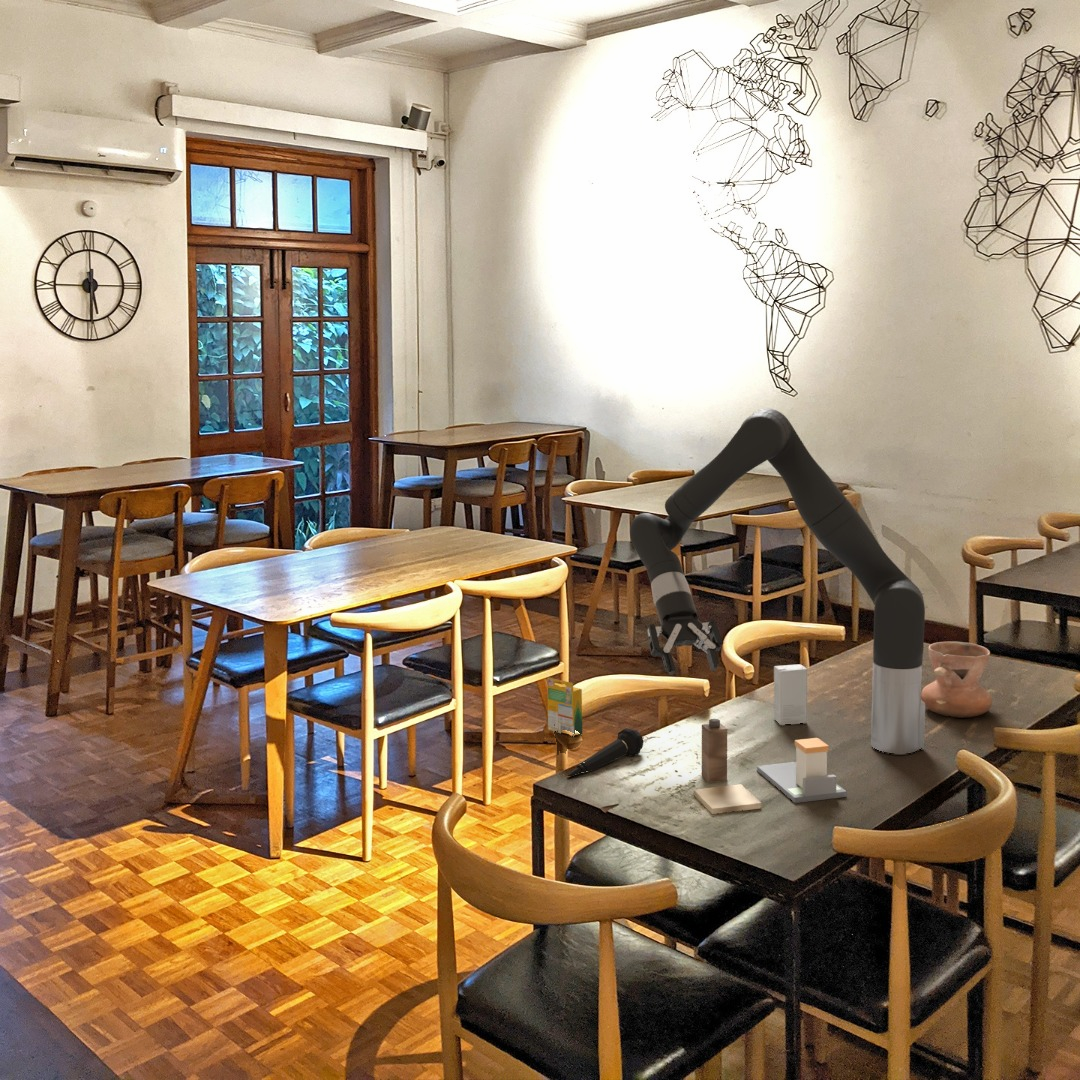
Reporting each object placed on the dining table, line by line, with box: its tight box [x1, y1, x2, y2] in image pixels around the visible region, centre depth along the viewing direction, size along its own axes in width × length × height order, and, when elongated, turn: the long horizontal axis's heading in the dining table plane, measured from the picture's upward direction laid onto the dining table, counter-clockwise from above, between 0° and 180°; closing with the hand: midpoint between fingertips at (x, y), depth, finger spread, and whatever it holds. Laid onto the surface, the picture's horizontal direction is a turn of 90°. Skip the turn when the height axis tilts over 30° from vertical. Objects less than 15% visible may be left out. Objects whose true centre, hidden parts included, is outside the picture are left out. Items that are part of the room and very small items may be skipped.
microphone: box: [567, 727, 644, 776], centre depth 228 cm, size 6×6×20 cm
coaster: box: [693, 783, 762, 815], centre depth 209 cm, size 9×9×1 cm
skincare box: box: [773, 663, 808, 726], centre depth 249 cm, size 6×4×12 cm
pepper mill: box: [701, 718, 728, 783], centre depth 219 cm, size 4×4×11 cm
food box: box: [546, 676, 583, 738], centre depth 246 cm, size 7×3×12 cm, turn 48°
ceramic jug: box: [921, 641, 993, 718], centre depth 253 cm, size 18×14×14 cm
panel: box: [756, 761, 848, 804], centre depth 216 cm, size 10×16×4 cm, turn 13°
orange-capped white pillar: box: [794, 737, 830, 788], centre depth 211 cm, size 4×4×8 cm
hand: (693, 671), depth 227 cm, fingers open, 8 cm apart
